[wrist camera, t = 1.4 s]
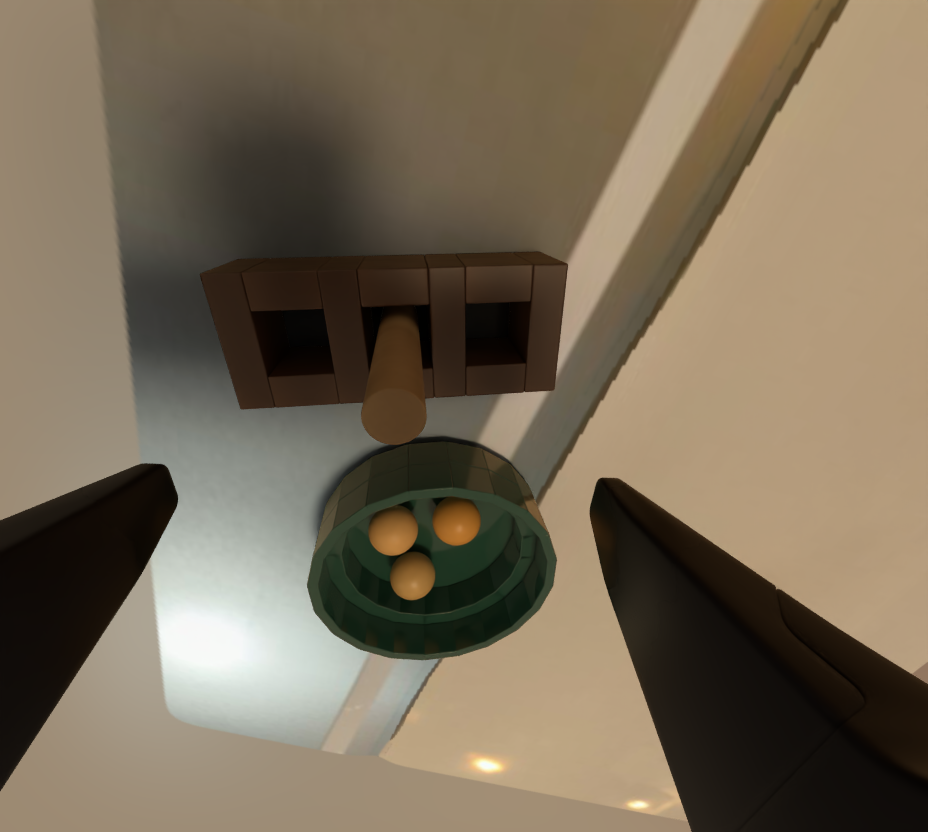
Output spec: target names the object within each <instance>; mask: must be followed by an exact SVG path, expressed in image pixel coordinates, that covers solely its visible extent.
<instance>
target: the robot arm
mask: <svg viewBox="0 0 928 832" xmlns="http://www.w3.org/2000/svg"><path fill="white" fill-rule="evenodd" d="M177 504H178V495H177V492H176V489H175V486H174V483H173V480H172V478H171V475H170V472H169V470H168V468H167V467H166V466H165V465H163V464H148V463H144V464H139V465H136V466H134V467H131V468H129V469H126V470H124V471H121V472H119V473H117V474H114V475H112V476H109V477H107V478H104V479H102V480H99V481H97V482H94V483H92V484H89V485H87V486H84V487H82V488H79V489H77V490H75V491H72V492H70V493H67V494H65V495H62V496H60V497H57V498H55V499H52V500H50V501H47V502H45V503H42V504H40V505H37V506H35V507H32V508H30V509H28V510H25V511H23V512H20V513H18V514H15V515H13V516H10V517H8V518H5V519H3V520H0V791H1V789H2V788H3V786H4V785H5V783H6V782H7V780H8V779H9V777H10V775H11V774H12V773H13V771H14V769H15V768H16V766H17V765H18V763H19V762H20V760H21V759H22V757H23V756H24V754H25V753H26V751H27V749H28V748H29V746H30V745H31V743H32V742H33V740H34V739H35V737H36V736H37V734H38V733H39V731H40V730H41V728H42V726H43V725H44V723H45V722H46V720H47V719H48V717H49V716H50V714H51V713H52V711H53V710H54V708H55V706H56V705H57V704H58V702H59V700H60V699H61V697H62V696H63V694H64V693H65V691H66V690H67V688H68V687H69V685H70V683H71V682H72V680H73V679H74V677H75V676H76V674H77V673H78V671H79V670H80V668H81V667H82V665H83V664H84V662H85V661H86V659H87V657H88V656H89V654H90V653H91V651H92V650H93V648H94V646H95V645H96V643H97V642H98V641H99V639H100V638H101V636H102V634H103V633H104V631H105V630H106V628H107V627H108V625H109V624H110V622H111V621H112V619H113V618H114V616H115V615H116V613H117V611H118V610H119V608H120V607H121V605H122V604H123V602H124V600H125V599H126V598H127V596H128V595H129V593H130V591H131V590H132V588H133V587H134V585H135V584H136V582H137V580H138V579H139V577H140V576H141V574H142V572H143V570H144V569H145V567H146V565H147V563H148V561H149V559H150V557H151V556H152V554H153V552H154V550H155V548H156V546H157V544H158V542H159V540H160V538H161V536H162V534H163V532H164V530H165V529H166V527H167V525H168V523H169V521H170V519H171V517H172V515H173V513H174V511H175V509H176V507H177ZM590 520H591V524H592V528H593V533H594V537H595V542H596V546H597V550H598V555H599V559H600V564H601V568H602V572H603V576H604V580H605V584H606V587H607V590H608V593H609V596H610V599H611V602H612V605H613V608H614V611H615V613H616V616H617V619H618V622H619V625H620V628H621V631H622V633H623V636H624V639H625V642H626V645H627V648H628V651H629V653H630V656H631V659H632V662H633V665H634V668H635V671H636V674H637V676H638V679H639V682H640V685H641V688H642V691H643V694H644V696H645V699H646V702H647V705H648V708H649V711H650V714H651V716H652V719H653V722H654V725H655V728H656V731H657V734H658V737H659V739H660V742H661V745H662V748H663V751H664V754H665V757H666V759H667V762H668V765H669V768H670V771H671V774H672V777H673V779H674V782H675V785H676V788H677V791H678V794H679V797H680V800H681V802H682V805H683V808H684V811H685V814H686V817H687V820H688V822H689V825H690V828H691V831H692V832H928V684H927V683H925V682H924V681H922V680H920V679H919V678H917V677H915V676H914V675H912V674H911V673H909V672H907V671H906V670H904V669H902V668H901V667H899V666H898V665H896V664H894V663H893V662H891V661H889V660H888V659H886V658H885V657H883V656H881V655H880V654H878V653H877V652H875V651H873V650H872V649H870V648H869V647H867V646H865V645H864V644H862V643H861V642H859V641H857V640H856V639H854V638H853V637H851V636H849V635H848V634H846V633H845V632H843V631H842V630H840V629H838V628H837V627H835V626H834V625H832V624H831V623H829V622H828V621H826V620H825V619H823V618H822V617H820V616H819V615H817V614H816V613H814V612H813V611H811V610H810V609H808V608H807V607H805V606H804V605H802V604H801V603H799V602H798V601H797V600H795V599H794V598H792V597H791V596H789V595H788V594H786V593H785V592H784V591H782V590H780V589H777V590H776V587H775V586H774V585H773V584H772V583H770V582H769V581H767V580H766V579H764V578H763V577H762V576H760V575H759V574H757V573H756V572H754V571H753V570H751V569H750V568H748V567H747V566H745V565H744V564H743V563H741V562H740V561H738V560H737V559H735V558H734V557H732V556H731V555H729V554H728V553H727V552H725V551H724V550H722V549H721V548H719V547H718V546H716V545H715V544H713V543H712V542H711V541H709V540H708V539H706V538H705V537H703V536H702V535H700V534H699V533H697V532H696V531H695V530H693V529H692V528H690V527H689V526H687V525H686V524H684V523H683V522H681V521H680V520H679V519H677V518H676V517H674V516H673V515H671V514H670V513H668V512H667V511H665V510H664V509H663V508H661V507H660V506H658V505H657V504H655V503H654V502H652V501H651V500H649V499H648V498H646V497H645V496H644V495H642V494H641V493H639V492H638V491H636V490H635V489H633V488H632V487H630V486H629V485H628V484H626V483H625V482H623V481H622V480H620V479H618V478H600V479H599V480H598V481H597V483H596V487H595V490H594V494H593V498H592V502H591V506H590Z"/></svg>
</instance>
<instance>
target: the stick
mask: <svg viewBox="0 0 928 832" xmlns="http://www.w3.org/2000/svg"><path fill="white" fill-rule="evenodd" d="M361 419H362V423H363V426H364V428H365V430H366V431H367V432H368V434H369V435H370V436H372V437H373V438H374V439H376V440H377V441H380V442H382V443H385V444H392V445H397V444H403V443H406V442H409V441H411V440H413V439H414V438H416V437H417V436H418V435H419V434H420V433H421V432H422V430H423V428H424V426H425V424H426V419H427V414H426V403H425V392H424V381H423V370H422V359H421V347H420V336H419V325H418V314H417V310H416V308H415V306H414V305H411V306H384V308H383V311H382V315H381V320H380V325H379V330H378V335H377V339H376V344H375V349H374V354H373V359H372V363H371V368H370V373H369V378H368V383H367V388H366V392H365V397H364V402H363V407H362V412H361Z"/></svg>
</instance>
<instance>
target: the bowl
mask: <svg viewBox="0 0 928 832" xmlns="http://www.w3.org/2000/svg"><path fill="white" fill-rule="evenodd" d="M450 496H453V497H459V498H465V499H470V500H471V501H472V502H473V503H474V504H475V505H476V506H477V508H478V510H479V513H480V517H481V524H480V528H479V531H478V533H477V535H476V536H475V537H474V538H473V539H472V540H471V541H470V542H468V543H466V544H464V545H459V546H454V545H449V544H447V543H445V542H443V541H442V540H441V539H440V538H439V537H438V536H437V535H436V533H435V531H434V528H433V524H432V517H433V513H434V510H435V508H436V507H437V505H438V504H439V503H440V502H441V501H442V500H444V499H445V498H447V497H450ZM395 505H400V506H403V507H405V508H407V509H409V510H410V511H411V512H412V513H413V515H414V516H415V518H416V521H417V524H418V534H417V538H416V540H415V542H414V544H413V545H412V546H411V547H410V548H409V549H408V550H407V551H406V552H404V553H402V554H399V555H394V556H390V555H385V554H382V553H380V552H379V551H377V550H376V549H375V548H374V547H373V545H372V544H371V542H370V539H369V535H368V528H369V523H370V521H371V519H372V517H373V516H374V514H375V513H376V512H377V511H380V510H383V509H386V508H389V507H392V506H395ZM408 552H420V553H422V554H424V555H426V556H427V557H428V558H429V559H430V560H431V562H432V563H433V565H434V568H435V581H434V584H433V587H432V588H431V590H430V591H429V592H428V593H427V594H426V595H425V596H424V597H422V598H420V599H417V600H406V599H403V598H401V597H400V596H398V595H397V594H396V593H395V591H394V590H393V588H392V586H391V582H390V571H391V568H392V566H393V564H394V562H395V561H396V560H397V559H398V558H399V557H400V556H401V555H403V554H405V553H408ZM556 563H557V557H556V554H555V551H554V548H553V545H552V541H551V538H550V535H549V532H548V530H547V528H546V525H545V523H544V521H543V518H542V516H541V513H540V511H539V509H538V506H537V504H536V501H535V499H534V497H533V494H532V492H531V489H530V487H529V485H528V484H527V483H526V482H525V480H524V479H523V478H522V477H521V476H520V475H519V474H518V472H517V471H516V470H515V469H514V468H513V467H512V466H511V465H510V464H509V463H507V462H505V461H503V460H502V459H500V458H498V457H496V456H494V455H492V454H491V453H489V452H487V451H485V450H483V449H481V448H477V447H472V446H467V445H462V444H457V443H452V442H448V441H447V442H445V441H444V442H430V443H416V444H409V445H408V444H407V445H404V446H401V447H398V448H395V449H392V450H390V451H387V452H384V453H381V454H378V455H375V456H373V457H371V458H370V459H368V460H367V461H366V462H364V463H363V464H361V465H360V466H359V467H357V468H356V469H355V470H353V471H352V472H350V473H349V474H348V475H346V476H345V477H344V478H343V480H342V481H341V483H340V484H339V486H338V487H337V488H336V490H335V491H334V493H333V494H332V496H331V497H330V499H329V500H328V502H327V504H326V507H325V511H324V515H323V518H322V522H321V526H320V530H319V534H318V538H317V542H316V545H315V549H314V553H313V557H312V562H311V567H310V572H309V577H308V582H307V588H308V591H309V595H310V599H311V602H312V606H313V609H314V612H315V614H316V615H317V616H318V617H319V618H320V619H321V621H322V622H323V623H324V624H325V625H326V626H327V628H328V629H329V630H330V631H331V632H332V633H333V634H334V635H335V636H337V637H339V638H340V639H342V640H344V641H346V642H347V643H349V644H351V645H352V646H354V647H356V648H358V649H360V650H363V651H367V652H370V653H374V654H377V655H381V656H384V657H388V658H396V659H412V660H430V659H438V658H446V657H454V656H457V655H458V656H460V655H463V654H466V653H469V652H472V651H475V650H478V649H481V648H485V647H488V646H489V645H492V644H493V643H495V642H497V641H499V640H501V639H502V638H504V637H506V636H508V635H509V634H511V633H513V632H515V631H517V630H518V629H519V628H520V627H521V626H522V625H523V624H524V623H526V622H527V621H528V620H529V619H530V618H531V617H532V616H533V615H534V614H535V613H536V612H537V611H538V610H539V609H540V608H541V606H542V604H543V603H544V601H545V599H546V597H547V596H548V594H549V592H550V591H551V589H552V587H553V583H554V576H555V570H556Z"/></svg>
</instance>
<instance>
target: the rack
mask: <svg viewBox="0 0 928 832" xmlns="http://www.w3.org/2000/svg"><path fill="white" fill-rule="evenodd" d="M567 270H568V264H567V263H564V262H562V261H560V260H557V259H555V258H553V257H551V256H548V255H546V254H544V253H541V252H514V253H511V252H505V253H463V254H426V255H425V256H424V255H384V256H366V257H365V256H337V257H296V258H271V259H270V258H255V259H237V260H234V261H231V262H229V263H226V264H224V265H221V266H219V267H216V268H213V269H211V270H208V271H206V272H203V273H201V274H200V277H201V281H202V284H203V287H204V291H205V294H206V297H207V300H208V304H209V307H210V310H211V314H212V317H213V320H214V323H215V327H216V330H217V333H218V336H219V340H220V343H221V346H222V350H223V353H224V356H225V359H226V363H227V366H228V369H229V373H230V376H231V379H232V382H233V386H234V389H235V392H236V395H237V399H238V402H239V405H240V409H258V408H274V407H294V406H310V405H327V404H339V403H340V404H343V403H359V402H364V397H365V392H366V388H367V383H368V378H369V373H370V368H371V363H372V359H373V354H374V349H375V337H374V328H373V320H372V311H371V307H383V306H411V305H427V318H428V338H429V341H420V347H421V359H422V370H423V381H424V392H425V398H434V397H436V398H438V397H454V396H465V395H467V396H472V395H489V394H505V393H522V392H524V391H525V392H536V391H552V390H554V389H555V379H556V370H557V361H558V352H559V343H560V334H561V325H562V315H563V306H564V297H565V288H566V279H567ZM500 302H510V307H509V328H508V338H507V337H502V338H480V339H466V320H465V303H466V304H472V303H500ZM307 309H324V315H325V321H326V327H327V332H328V338H329V344H330V345H324V346H302V347H291V348H290V344H289V340H288V335H287V331H286V326H285V321H284V317H283V312H282V310H307Z"/></svg>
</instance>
